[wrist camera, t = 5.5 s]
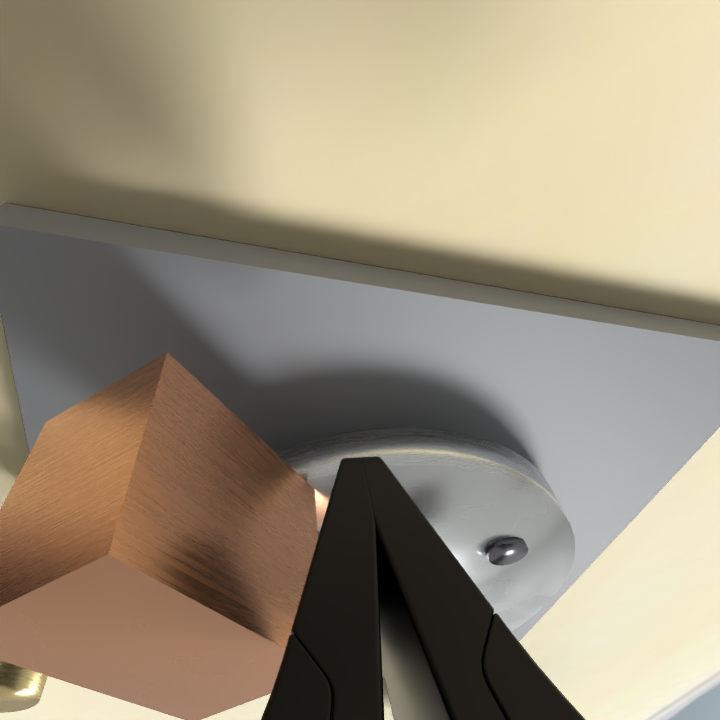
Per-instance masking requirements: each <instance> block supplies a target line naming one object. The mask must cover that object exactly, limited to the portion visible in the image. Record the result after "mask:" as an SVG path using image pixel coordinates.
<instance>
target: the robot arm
mask: <svg viewBox="0 0 720 720" xmlns="http://www.w3.org/2000/svg"><path fill="white" fill-rule="evenodd" d="M493 614H494V608H493V607H492V606H491V604H490V603H489V602H488V600H487V599H486V598H485V596H484V595H483V594H482V592H481V591H480V590H479V588H478V587H477V586H476V584H475V583H474V582H473V580H472V579H471V578H470V576H469V575H468V574H467V572H466V571H465V570H464V568H463V567H462V566H461V564H460V563H459V561H458V560H457V559H456V557H455V556H454V555H453V553H452V552H451V551H450V549H449V548H448V547H447V545H446V544H445V543H444V541H443V540H442V539H441V537H440V536H439V535H438V533H437V532H436V531H435V529H434V528H433V527H432V525H431V524H430V523H429V521H428V520H427V519H426V517H425V516H424V515H423V513H422V512H421V511H420V509H419V508H418V507H417V505H416V504H415V503H414V501H413V500H412V498H411V497H410V496H409V494H408V493H407V492H406V490H405V489H404V488H403V486H402V485H401V484H400V482H399V481H398V480H397V478H396V477H395V476H394V474H393V473H392V472H391V470H390V469H389V468H388V466H387V465H386V464H385V462H384V461H383V460H382V459H381V458H380V457H377V456H373V457H361V458H360V457H355V458H343V459H342V460H341V462H340V465H339V468H338V472H337V475H336V478H335V482H334V485H333V489H332V492H331V496H330V499H329V502H328V506H327V509H326V513H325V516H324V519H323V523H322V526H321V530H320V533H319V537H318V540H317V543H316V547H315V550H314V554H313V557H312V560H311V564H310V567H309V571H308V574H307V578H306V581H305V584H304V588H303V591H302V595H301V598H300V601H299V605H298V608H297V612H296V615H295V619H294V622H293V625H292V629H291V635H290V636H289V638H288V641H287V645H286V648H285V652H284V655H283V659H282V662H281V665H280V668H279V671H278V674H277V677H276V680H275V683H274V686H273V689H272V692H271V695H270V698H269V701H268V703H267V706H266V708H265V711H264V714H263V716H262V719H261V720H384V702H383V676H382V667H383V671H384V676H385V681H386V685H387V690H388V695H389V699H390V704H391V709H392V713H393V718H394V720H585V719H584V717H583V716H582V715H581V714H580V713H579V712H578V711H577V710H576V709H575V707H574V706H573V705H572V704H571V703H570V702H569V701H568V700H567V699H566V698H565V696H564V695H563V694H562V693H561V692H560V691H559V689H558V688H557V687H556V686H555V685H554V684H553V683H552V681H551V680H550V679H549V678H548V677H547V676H546V675H545V673H544V672H543V671H542V670H541V669H540V668H539V666H538V665H537V664H536V663H535V662H534V660H533V659H532V658H531V657H530V655H529V654H528V653H527V651H526V650H525V649H524V648H523V646H522V645H521V644H520V643H519V641H518V640H517V639H516V637H515V636H514V635H513V634H512V632H511V631H510V630H509V628H508V627H507V626H506V624H505V623H504V622H503V620H502V619H501V617H500V616H499V615H498V614H497V613H495V614H494V615H493Z"/></svg>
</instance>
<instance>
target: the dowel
mask: <svg viewBox="0 0 720 720" xmlns="http://www.w3.org/2000/svg"><path fill="white" fill-rule="evenodd" d="M46 679H47V675H44V674H41V673H38V672H35V671H32V670H28V669H25V668H22V667H19V666H16V665H13V664H10V663H7V662H4V661H1V660H0V713H3V712H15V711H20V710H25V709H28V708H30V707H33V706H35V705H36V704H37V703H38V702H39V701H40V698H41V694H42V691H43V688H44V685H45V682H46Z"/></svg>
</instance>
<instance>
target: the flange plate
mask: <svg viewBox="0 0 720 720" xmlns="http://www.w3.org/2000/svg"><path fill="white" fill-rule="evenodd" d="M373 456H377V457H380V458H381V459H382V460H383V461H384V462H385V464H386V465H387V466H388V468H389V469H390V470H391V472H392V473H393V474H394V476H395V477H396V478H397V480H398V481H399V482H400V484H401V485H402V486H403V488H404V489H405V490H406V492H407V493H408V494H409V496H410V497H411V498H412V500H413V501H414V503H415V504H416V505H417V507H418V508H419V509H420V511H421V512H422V513H423V515H424V516H425V517H426V519H427V520H428V521H429V523H430V524H431V525H432V527H433V528H434V529H435V531H436V532H437V533H438V535H439V536H440V537H441V539H442V540H443V541H444V543H445V544H446V545H447V547H448V548H449V549H450V551H451V552H452V553H453V555H454V556H455V557H456V559H457V560H458V561H459V563H460V564H461V566H462V567H463V568H464V570H465V571H466V572H467V574H468V575H469V576H470V578H471V579H472V580H473V582H474V583H475V584H476V586H477V587H478V588H479V590H480V591H481V592H482V594H483V595H484V596H485V598H486V599H487V600H488V602H489V603H490V604H491V606H492V607H493V608H494V614H495V613H497V614H498V615H499V616H500V617H501V619H502V620H503V622H504V623H505V624H506V626H507V627H508V628H509V630H510V631H513V630H514V629H516V628H518V627H519V626H521V625H522V624H523V623H525V622H526V621H527V620H529V619H530V618H531V617H533V616H534V615H535V614H536V613H538V612H539V611H540V610H541V609H542V608H543V607H544V606H545V605H546V604H547V603H548V602H549V601H550V600H551V599H552V598H553V597H554V595H555V594H556V593H557V592H558V591H559V589H560V588H561V586H562V585H563V583H564V582H565V580H566V578H567V577H568V574H569V572H570V569H571V567H572V565H573V560H574V555H575V536H574V534H573V531H572V528H571V525H570V522H569V520H568V519H567V517H566V515H565V513H564V511H563V509H562V507H561V505H560V504H559V502H558V500H557V498H556V496H555V494H554V492H553V490H552V488H551V487H550V485H549V484H548V482H547V481H546V479H545V478H544V476H543V475H542V473H541V472H540V471H539V470H538V469H537V468H536V467H535V466H533V465H532V464H531V463H530V462H529V461H528V460H526V459H525V458H523V457H522V456H520V455H519V454H517V453H516V452H514V451H513V450H511V449H509V448H506V447H504V446H502V445H500V444H497V443H495V442H493V441H491V440H487V439H484V438H480V437H477V436H473V435H470V434H467V433H461V432H455V431H449V430H443V429H433V428H417V427H394V428H374V429H366V430H358V431H350V432H343V433H339V434H334V435H330V436H325V437H321V438H316V439H312V440H309V441H306V442H302V443H299V444H296V445H293V446H290V447H287V448H284V449H281V450H278V451H276V452H274V451H273V450H272V449H271V448H270V447H269V446H268V445H267V444H266V443H265V442H264V441H263V440H262V439H260V438H259V437H258V436H257V435H256V434H255V433H254V432H253V431H252V430H251V429H250V428H249V427H248V426H246V425H245V424H244V423H243V422H242V421H241V420H240V419H239V418H238V417H237V416H236V415H235V414H234V413H233V412H231V411H230V410H229V409H228V408H227V407H226V406H225V405H224V404H223V403H222V402H221V401H220V400H219V399H217V398H216V397H215V396H214V395H213V394H212V393H211V392H210V391H209V390H208V389H207V388H206V387H205V386H204V385H202V384H201V383H200V382H199V381H198V380H197V379H196V378H195V377H194V376H193V375H192V374H191V373H190V372H188V371H187V370H186V369H185V368H184V367H183V366H182V365H181V364H180V363H179V362H178V361H177V360H176V359H174V358H173V357H172V356H171V355H170V354H169V353H168V352H166V353H164V354H163V355H161V356H159V357H158V358H156V359H154V360H152V361H151V362H149V363H147V364H145V365H144V366H142V367H140V368H139V369H137V370H135V371H133V372H132V373H130V374H128V375H126V376H125V377H123V378H121V379H120V380H118V381H116V382H114V383H113V384H111V385H109V386H107V387H106V388H104V389H102V390H101V391H99V392H97V393H95V394H94V395H92V396H90V397H88V398H87V399H85V400H83V401H81V402H80V403H78V404H76V405H75V406H73V407H71V408H69V409H68V410H66V411H64V412H62V413H61V414H59V415H57V416H56V417H54V418H52V419H50V420H49V421H47V422H46V423H45V425H44V427H43V428H42V430H41V432H40V434H39V436H38V438H37V440H36V442H35V444H34V446H33V448H32V450H31V452H30V454H29V456H28V457H27V459H26V461H25V463H24V465H23V467H22V469H21V471H20V473H19V475H18V477H17V479H16V481H15V483H14V485H13V487H12V488H11V490H10V492H9V494H8V496H7V498H6V500H5V502H4V504H3V506H2V508H1V510H0V660H1V661H4V662H7V663H10V664H13V665H16V666H19V667H22V668H25V669H28V670H32V671H35V672H38V673H41V674H44V675H47V676H50V677H53V678H56V679H60V680H63V681H66V682H69V683H72V684H75V685H78V686H81V687H84V688H88V689H91V690H94V691H97V692H100V693H103V694H106V695H109V696H112V697H116V698H119V699H122V700H125V701H128V702H131V703H134V704H137V705H140V706H144V707H147V708H150V709H153V710H156V711H159V712H162V713H165V714H168V715H172V716H175V717H178V718H181V719H184V720H201V719H204V718H206V717H209V716H212V715H214V714H217V713H220V712H222V711H225V710H228V709H230V708H233V707H236V706H238V705H241V704H244V703H246V702H249V701H252V700H254V699H257V698H260V697H262V696H265V695H268V694H270V693H271V692H272V689H273V686H274V683H275V680H276V677H277V674H278V671H279V668H280V665H281V662H282V659H283V655H284V652H285V648H286V645H287V641H288V638H289V636H290V635H291V629H292V625H293V622H294V619H295V615H296V612H297V608H298V605H299V601H300V598H301V595H302V591H303V588H304V584H305V581H306V578H307V574H308V571H309V567H310V564H311V560H312V557H313V554H314V550H315V547H316V543H317V540H318V537H319V533H320V530H321V526H322V523H323V519H324V516H325V513H326V509H327V506H328V502H329V499H330V496H331V492H332V489H333V485H334V482H335V478H336V475H337V472H338V468H339V465H340V462H341V460H342V459H343V458H355V457H360V458H361V457H373ZM494 614H493V615H494ZM382 676H383V678H385V676H384V671H383V667H382Z"/></svg>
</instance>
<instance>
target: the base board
mask: <svg viewBox="0 0 720 720" xmlns="http://www.w3.org/2000/svg"><path fill="white" fill-rule="evenodd" d="M0 313H1V318H2V323H3V327H4V332H5V337H6V342H7V347H8V352H9V357H10V361H11V366H12V371H13V376H14V381H15V386H16V391H17V395H18V400H19V405H20V410H21V415H22V420H23V425H24V429H25V434H26V439H27V444H28V449H29V454H30V452H31V450H32V448H33V446H34V444H35V442H36V440H37V438H38V436H39V434H40V432H41V430H42V428H43V427H44V425H45V423H46V422H47V421H49V420H50V419H52V418H54V417H56V416H57V415H59V414H61V413H62V412H64V411H66V410H68V409H69V408H71V407H73V406H75V405H76V404H78V403H80V402H81V401H83V400H85V399H87V398H88V397H90V396H92V395H94V394H95V393H97V392H99V391H101V390H102V389H104V388H106V387H107V386H109V385H111V384H113V383H114V382H116V381H118V380H120V379H121V378H123V377H125V376H126V375H128V374H130V373H132V372H133V371H135V370H137V369H139V368H140V367H142V366H144V365H145V364H147V363H149V362H151V361H152V360H154V359H156V358H158V357H159V356H161V355H163V354H164V353H166V352H168V353H169V354H170V355H171V356H172V357H173V358H174V359H176V360H177V361H178V362H179V363H180V364H181V365H182V366H183V367H184V368H185V369H186V370H187V371H188V372H190V373H191V374H192V375H193V376H194V377H195V378H196V379H197V380H198V381H199V382H200V383H201V384H202V385H204V386H205V387H206V388H207V389H208V390H209V391H210V392H211V393H212V394H213V395H214V396H215V397H216V398H217V399H219V400H220V401H221V402H222V403H223V404H224V405H225V406H226V407H227V408H228V409H229V410H230V411H231V412H233V413H234V414H235V415H236V416H237V417H238V418H239V419H240V420H241V421H242V422H243V423H244V424H245V425H246V426H248V427H249V428H250V429H251V430H252V431H253V432H254V433H255V434H256V435H257V436H258V437H259V438H260V439H262V440H263V441H264V442H265V443H266V444H267V445H268V446H269V447H270V448H271V449H272V450H273V451H274V452H276V451H278V450H281V449H284V448H287V447H290V446H293V445H296V444H299V443H302V442H306V441H309V440H312V439H316V438H321V437H325V436H330V435H334V434H339V433H343V432H350V431H358V430H366V429H374V428H394V427H417V428H433V429H443V430H449V431H455V432H461V433H467V434H470V435H473V436H477V437H480V438H484V439H487V440H491V441H493V442H495V443H497V444H500V445H502V446H504V447H506V448H509V449H511V450H513V451H514V452H516V453H517V454H519V455H520V456H522V457H523V458H525V459H526V460H528V461H529V462H530V463H531V464H532V465H533V466H535V467H536V468H537V469H538V470H539V471H540V472H541V473H542V475H543V476H544V478H545V479H546V481H547V482H548V484H549V485H550V487H551V488H552V490H553V492H554V494H555V496H556V498H557V500H558V502H559V504H560V505H561V507H562V509H563V511H564V513H565V515H566V517H567V519H568V520H569V522H570V525H571V528H572V531H573V534H574V536H575V555H574V560H573V565H572V567H571V569H570V572H569V574H568V577H567V578H566V580H565V582H564V583H563V585H562V586H561V588H560V589H559V591H558V592H557V593H556V594H555V595H554V597H553V598H552V599H551V600H550V601H549V602H548V603H547V604H546V605H545V606H544V607H543V608H542V609H541V610H540V611H539V612H538V613H536V614H535V615H534V616H533V617H531V618H530V619H529V620H527V621H526V622H525V623H523V624H522V625H521V626H519V627H518V628H516V629H514V630H513V631H511V632H512V634H513V635H514V636H515V637H516V639H517V640H518V641H520V640H521V639H522V638H523V637H524V636H525V635H526V633H527V632H528V631H529V630H530V629H531V628H532V627H533V626H534V625H535V624H536V623H537V622H538V621H539V620H540V619H541V617H542V616H543V615H544V614H545V613H546V612H547V611H548V610H549V609H550V608H551V607H552V606H553V605H554V604H555V602H556V601H557V600H558V599H559V598H560V597H561V596H562V595H563V594H564V593H565V592H566V591H567V590H568V589H569V588H570V586H571V585H572V584H573V583H574V582H575V581H576V580H577V579H578V578H579V577H580V576H581V575H582V574H583V573H584V572H585V570H586V569H587V568H588V567H589V566H590V565H591V564H592V563H593V562H594V561H595V560H596V559H597V558H598V557H599V555H600V554H601V553H602V552H603V551H604V550H605V549H606V548H607V547H608V546H609V545H610V544H611V543H612V542H613V541H614V539H615V538H616V537H617V536H618V535H619V534H620V533H621V532H622V531H623V530H624V529H625V528H626V527H627V526H628V524H629V523H630V522H631V521H632V520H633V519H634V518H635V517H636V516H637V515H638V514H639V513H640V512H641V511H642V510H643V508H644V507H645V506H646V505H647V504H648V503H649V502H650V501H651V500H652V499H653V498H654V497H655V496H656V495H657V494H658V492H659V491H660V490H661V489H662V488H663V487H664V486H665V485H666V484H667V483H668V482H669V481H670V480H671V479H672V477H673V476H674V475H675V474H676V473H677V472H678V471H679V470H680V469H681V468H682V467H683V466H684V465H685V464H686V463H687V461H688V460H689V459H690V458H691V457H692V456H693V455H694V454H695V453H696V452H697V451H698V450H699V449H700V448H701V446H702V445H703V444H704V443H705V442H706V441H707V440H708V439H709V438H710V437H711V436H712V435H713V434H714V433H715V432H716V430H717V429H718V428H719V427H720V325H714V324H709V323H703V322H697V321H691V320H685V319H679V318H674V317H668V316H662V315H656V314H650V313H644V312H639V311H633V310H627V309H621V308H615V307H609V306H604V305H598V304H592V303H586V302H580V301H574V300H569V299H563V298H557V297H551V296H545V295H540V294H534V293H528V292H522V291H516V290H510V289H505V288H499V287H493V286H487V285H481V284H475V283H470V282H464V281H458V280H452V279H446V278H440V277H435V276H429V275H423V274H417V273H411V272H405V271H400V270H394V269H388V268H382V267H376V266H370V265H365V264H359V263H353V262H347V261H341V260H336V259H330V258H324V257H318V256H312V255H306V254H301V253H295V252H289V251H283V250H277V249H271V248H266V247H260V246H254V245H248V244H242V243H236V242H231V241H225V240H219V239H213V238H207V237H201V236H196V235H190V234H184V233H178V232H172V231H166V230H161V229H155V228H149V227H143V226H137V225H132V224H126V223H120V222H114V221H108V220H102V219H97V218H91V217H85V216H79V215H73V214H67V213H62V212H56V211H50V210H44V209H38V208H32V207H27V206H21V205H15V204H9V203H5V204H3V205H2V206H1V207H0Z"/></svg>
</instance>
